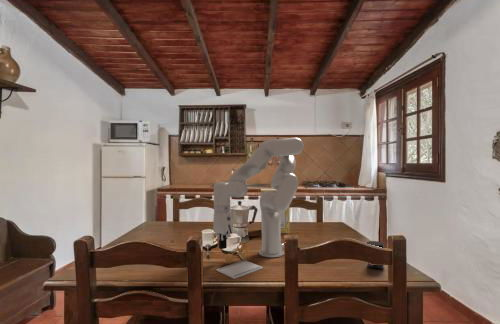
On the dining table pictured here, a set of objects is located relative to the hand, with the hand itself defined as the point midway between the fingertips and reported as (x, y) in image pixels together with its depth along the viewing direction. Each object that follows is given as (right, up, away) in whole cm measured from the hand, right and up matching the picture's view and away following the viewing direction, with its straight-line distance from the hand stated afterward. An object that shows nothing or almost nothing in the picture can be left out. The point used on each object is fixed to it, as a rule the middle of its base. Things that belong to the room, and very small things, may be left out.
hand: (222, 248), depth 131 cm
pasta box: (+29, -7, +57) cm, 64 cm away
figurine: (+2, -5, -1) cm, 5 cm away
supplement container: (+67, -6, -9) cm, 68 cm away
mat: (+8, -6, -9) cm, 14 cm away
